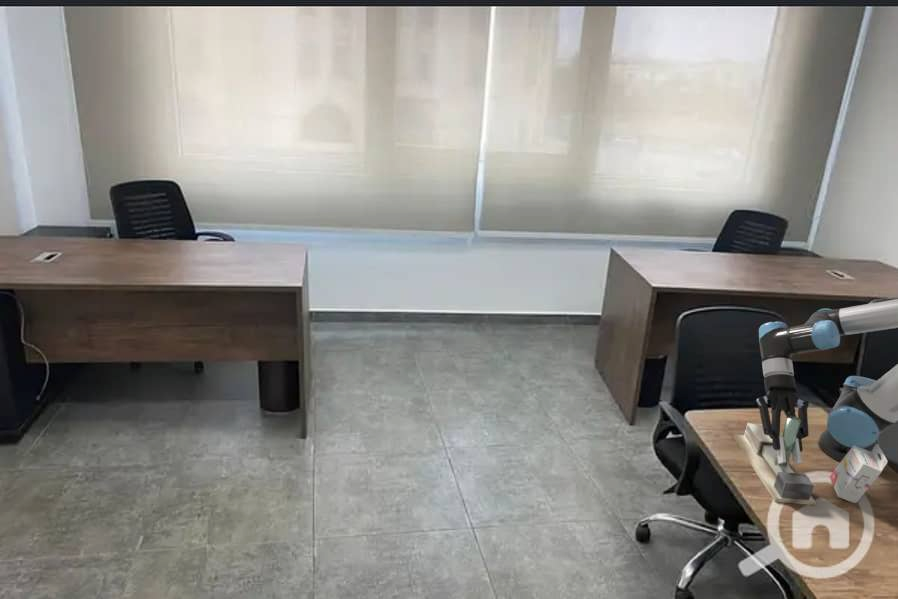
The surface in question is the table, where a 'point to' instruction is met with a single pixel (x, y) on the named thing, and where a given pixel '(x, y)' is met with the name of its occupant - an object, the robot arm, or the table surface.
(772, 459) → the tube
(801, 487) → the tube rig
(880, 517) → the table surface
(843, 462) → the ink cartridge box
